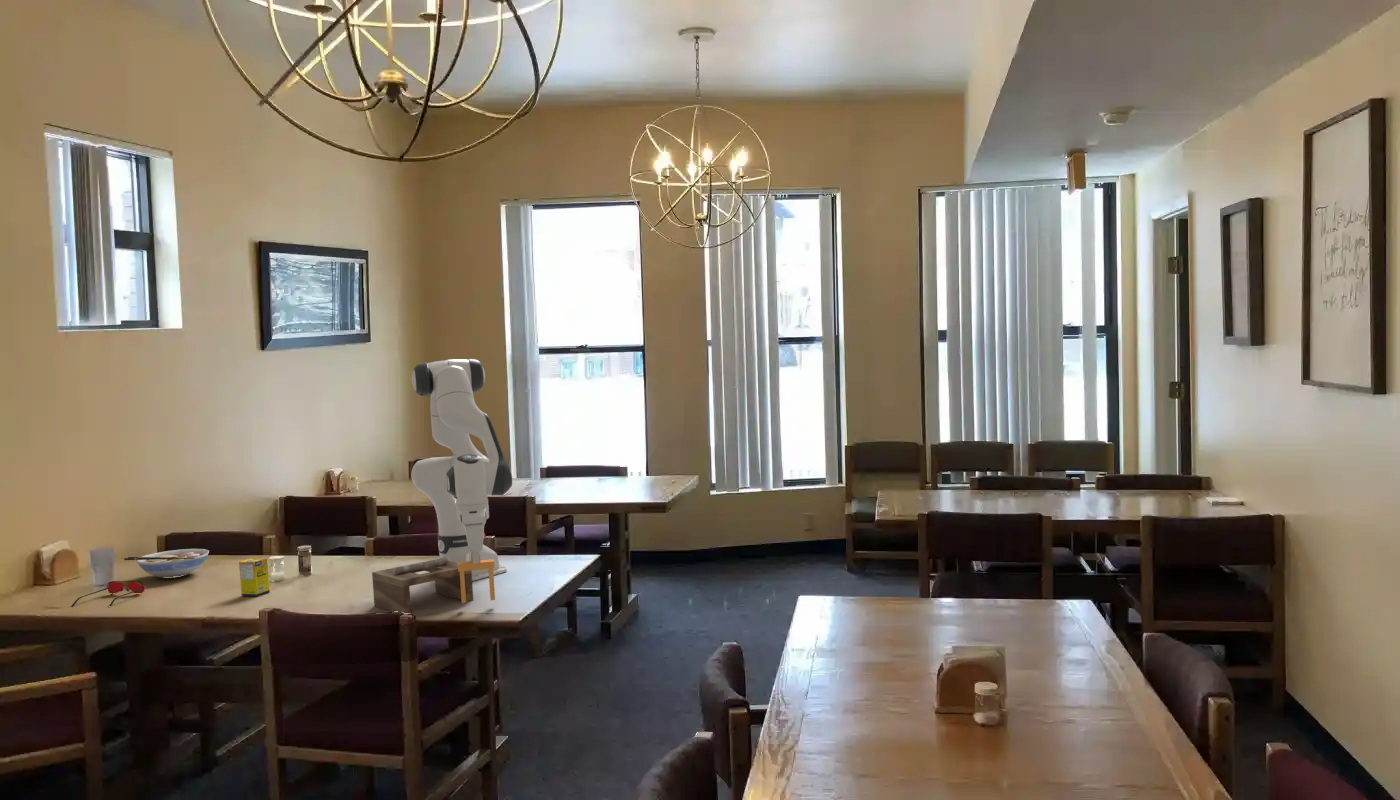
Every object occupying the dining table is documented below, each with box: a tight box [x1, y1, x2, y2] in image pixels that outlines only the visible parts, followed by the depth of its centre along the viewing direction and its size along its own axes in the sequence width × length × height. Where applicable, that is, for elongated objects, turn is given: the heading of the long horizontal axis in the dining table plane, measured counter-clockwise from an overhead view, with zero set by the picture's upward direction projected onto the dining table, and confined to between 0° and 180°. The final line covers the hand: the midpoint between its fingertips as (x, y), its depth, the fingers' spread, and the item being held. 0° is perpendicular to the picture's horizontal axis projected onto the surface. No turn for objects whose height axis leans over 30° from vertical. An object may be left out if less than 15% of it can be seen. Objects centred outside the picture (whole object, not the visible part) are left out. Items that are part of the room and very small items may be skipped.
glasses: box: [70, 580, 147, 608], centre depth 344 cm, size 14×16×5 cm
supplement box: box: [238, 557, 271, 597], centre depth 342 cm, size 6×6×11 cm
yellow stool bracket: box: [458, 552, 496, 604], centre depth 310 cm, size 3×10×13 cm, turn 103°
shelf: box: [371, 557, 474, 614], centre depth 320 cm, size 22×18×12 cm
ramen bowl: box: [123, 548, 210, 578], centre depth 376 cm, size 25×23×8 cm
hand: (475, 561), depth 309 cm, fingers closed on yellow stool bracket, 3 cm apart
